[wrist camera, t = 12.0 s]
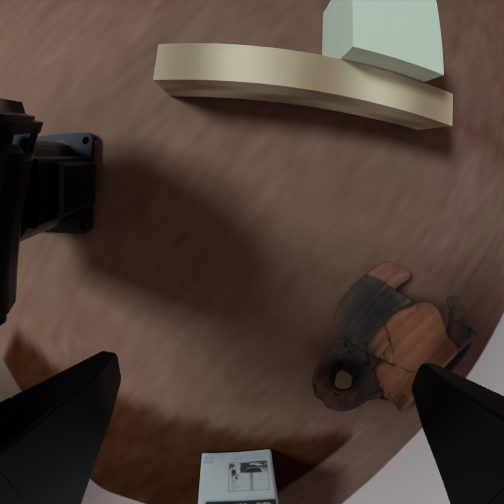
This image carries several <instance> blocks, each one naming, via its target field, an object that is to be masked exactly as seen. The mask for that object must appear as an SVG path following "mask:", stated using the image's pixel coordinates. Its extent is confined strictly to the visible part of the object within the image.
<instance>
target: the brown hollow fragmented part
mask: <svg viewBox="0 0 504 504" xmlns="http://www.w3.org/2000/svg"><path fill="white" fill-rule="evenodd" d="M409 279H410V273H409V272H408V271H407V270H406V269H404V268H401V267H399V266H397V265H395V264H393V263H391V262H385V263H382V264H380V265H379V266H377V267H375V268H373V269H372V270H371V271H370V272H368V273H367V274H366V275H364V276H363V277H362V278H361V279H360V280H359V281H358V282H357V283H355V284H354V285H353V286H352V288H351V289H350V290H349V291H348V292H347V293H346V294H345V296H344V297H343V299H342V300H341V302H340V305H339V306H338V309H337V311H336V313H335V320H336V321H337V324H338V326H339V330H340V332H341V337H342V338H336V340H335V342H334V345H333V347H332V348H331V349H330V350H329V351H328V352H327V353H326V354H325V355H324V357H323V358H322V359H321V361H320V362H319V364H318V365H317V367H316V369H315V372H314V377H313V383H312V384H313V388H314V396H315V397H316V398H318V399H321V400H322V401H323V402H324V405H325V406H326V407H327V408H329V409H332V410H336V411H348V410H351V409H354V408H356V407H358V406H360V405H361V404H363V403H365V402H366V401H368V400H372V399H378V398H380V400H381V401H386V402H393V403H394V404H395V405H396V406H397V408H398V410H399V411H400V412H405V411H406V410H408V409H410V408H411V407H413V406H414V405H416V404H415V400H414V397H413V394H412V389H411V388H412V383H413V381H414V378H415V376H416V373H417V371H418V369H419V367H420V365H421V364H424V363H434V364H436V365H439V366H441V367H443V368H445V369H447V370H449V371H451V372H452V371H453V370H454V368H455V367H456V366H457V365H458V364H459V362H460V361H461V360H462V359H463V357H464V356H465V355H466V353H467V352H468V351H469V349H470V348H471V346H472V344H473V343H474V341H475V339H476V337H477V332H475V331H474V330H473V328H469V327H468V325H467V317H466V314H465V311H464V309H463V307H462V306H461V305H460V303H459V300H458V298H456V297H452V296H449V297H447V305H448V307H449V309H450V312H449V316H450V317H449V324H448V328H447V331H446V329H445V325H444V324H443V320H442V317H441V315H440V313H439V310H438V308H437V307H436V306H434V305H432V304H431V303H428V302H421V303H417V304H414V301H413V300H411V299H410V298H408V297H406V296H404V295H402V294H401V293H399V292H397V291H395V289H397V287H398V286H400V285H401V284H402V283H404V282H406V281H407V280H409ZM368 353H369V354H372V355H374V356H376V357H378V358H379V359H381V360H380V361H379V362H378V364H377V365H376V367H375V369H374V368H372V367H371V366H370V365H369V358H368ZM341 370H344V371H347V372H348V373H349V374H350V375H351V376H352V378H353V379H352V383H351V387H349V388H347V389H339V388H337V387H336V386H335V377H336V375H337V372H338V371H341Z"/></svg>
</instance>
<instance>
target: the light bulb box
mask: <svg viewBox="0 0 504 504" xmlns="http://www.w3.org/2000/svg"><path fill="white" fill-rule="evenodd" d="M198 504H279V502H278V496H277V489H276V483H275V477H274V470H273V462H272V454H271V450H270V449H266V450H256V451H244V452H227V453H203V454H202V462H201V474H200V487H199V498H198Z"/></svg>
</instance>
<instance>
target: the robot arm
mask: <svg viewBox="0 0 504 504" xmlns="http://www.w3.org/2000/svg"><path fill="white" fill-rule="evenodd" d="M34 119H35V116H31V115H27V114H25V111H24V107H23V104H22V102H17V101H12V100H7V99H1V98H0V325H2V324H3V323H5V322H6V320H7V314H8V313H9V311H10V309H11V308H12V306H13V305H14V303H15V301H16V287H17V267H18V254H19V243H20V242H21V241H23V240H25V239H27V238H30V237H32V236H34V235H37V234H39V233H41V232H44V231H49V232H63V233H78V234H86V233H88V232H90V231H91V230H92V227H93V213H92V205H93V204H94V203H95V172H96V165H95V163H94V148H95V137H94V135H93V134H92V133H74V134H62V135H51V136H42V137H37V136H38V133H40V131H41V128H42V125H43V122H40V121H36V120H34ZM87 137H88V138H89V142H88V143H87V144H86V143H85V139H86V138H87ZM83 223H86V225H87V229H85V228H84V227H83ZM120 382H121V375H120V369H119V363H118V357H117V355H116V354H115V353H112V352H107V351H102V352H99V353H98V354H96V355H94V356H92V357H90V358H88V359H86V360H84V361H82V362H80V363H78V364H76V365H74V366H72V367H70V368H68V369H66V370H64V371H62V372H60V373H58V374H56V375H54V376H52V377H50V378H48V379H46V380H44V381H42V382H40V383H38V384H36V385H34V386H32V387H30V388H28V389H26V390H24V391H22V392H20V393H19V394H16V395H14V396H13V397H12V398H8V399H6V400H4V401H2V402H0V504H81V502H82V499H83V496H84V494H85V491H86V488H87V485H88V482H89V479H90V476H91V473H92V471H93V468H94V465H95V462H96V460H97V457H98V454H99V451H100V449H101V446H102V443H103V441H104V438H105V436H106V433H107V430H108V427H109V424H110V421H111V417H112V413H113V409H114V405H115V401H116V398H117V394H118V390H119V386H120ZM411 389H412V394H413V397H414V400H415V404H416V407H417V410H418V414H419V417H420V421H421V424H422V427H423V430H424V432H425V435H426V438H427V440H428V443H429V445H430V448H431V451H432V453H433V456H434V458H435V461H436V464H437V466H438V469H439V472H440V475H441V477H442V480H443V483H444V486H445V489H446V492H447V495H448V498H449V501H450V504H504V396H502V395H500V394H498V393H496V392H493V391H491V390H489V389H487V388H485V387H482V386H481V385H478V384H476V383H474V382H472V381H470V380H467V379H466V378H464V377H462V376H459V375H457V374H455V373H453V372H451V371H449V370H447V369H445V368H443V367H441V366H439V365H436V364H434V363H424V364H421V365H420V367H419V369H418V371H417V373H416V376H415V378H414V381H413V383H412V388H411Z"/></svg>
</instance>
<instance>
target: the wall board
mask: <svg viewBox="0 0 504 504" xmlns="http://www.w3.org/2000/svg"><path fill="white" fill-rule="evenodd" d="M153 80H154V81H155V82H156V83H157V84H158V85H159V86H160V87H161V88H162V89H163V90H165V91H166V92H167V93H168V94H169V95H170V96H196V97H221V98H237V99H250V100H261V101H271V102H279V103H288V104H295V105H302V106H309V107H315V108H322V109H327V110H333V111H339V112H344V113H349V114H354V115H359V116H363V117H368V118H372V119H377V120H381V121H385V122H389V123H393V124H397V125H401V126H405V127H408V128H412V129H416V130H423V129H431V128H439V127H448V126H452V118H453V94H452V93H449V92H447V91H444V90H442V89H439V88H437V87H434V86H431V85H429V84H426V83H423V82H420V81H417V80H414V79H411V78H408V77H405V76H402V75H399V74H396V73H393V72H389V71H386V70H382V69H379V68H375V67H371V66H368V65H364V64H360V63H356V62H351V61H347V60H342V59H338V58H333V57H328V56H323V55H318V54H312V53H306V52H300V51H293V50H286V49H278V48H269V47H259V46H248V45H233V44H207V43H181V44H159V46H158V52H157V58H156V64H155V71H154V77H153Z"/></svg>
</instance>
